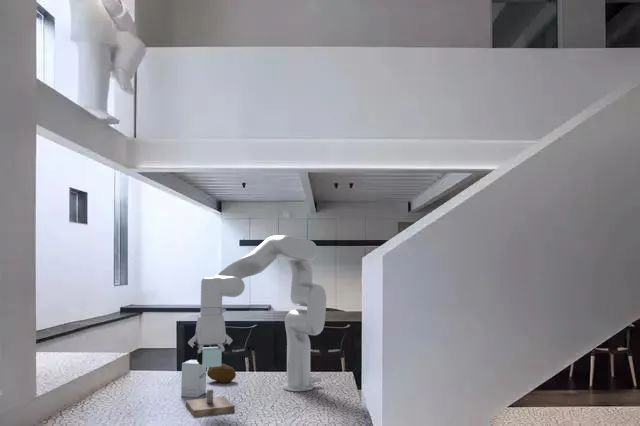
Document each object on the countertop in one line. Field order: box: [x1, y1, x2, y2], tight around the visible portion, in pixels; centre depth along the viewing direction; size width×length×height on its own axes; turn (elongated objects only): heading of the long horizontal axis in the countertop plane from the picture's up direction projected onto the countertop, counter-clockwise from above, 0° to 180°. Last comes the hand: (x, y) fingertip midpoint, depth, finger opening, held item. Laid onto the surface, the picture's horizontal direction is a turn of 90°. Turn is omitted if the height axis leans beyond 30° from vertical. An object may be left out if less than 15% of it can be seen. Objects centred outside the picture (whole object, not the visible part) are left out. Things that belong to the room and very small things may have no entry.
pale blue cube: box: [199, 346, 222, 368], centre depth 195 cm, size 6×6×6 cm
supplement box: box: [180, 359, 207, 398], centre depth 213 cm, size 7×7×13 cm
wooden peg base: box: [185, 388, 236, 418], centre depth 194 cm, size 14×14×6 cm
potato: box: [206, 362, 237, 384], centre depth 234 cm, size 8×12×8 cm, turn 91°
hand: (210, 362), depth 194 cm, fingers closed on pale blue cube, 6 cm apart
